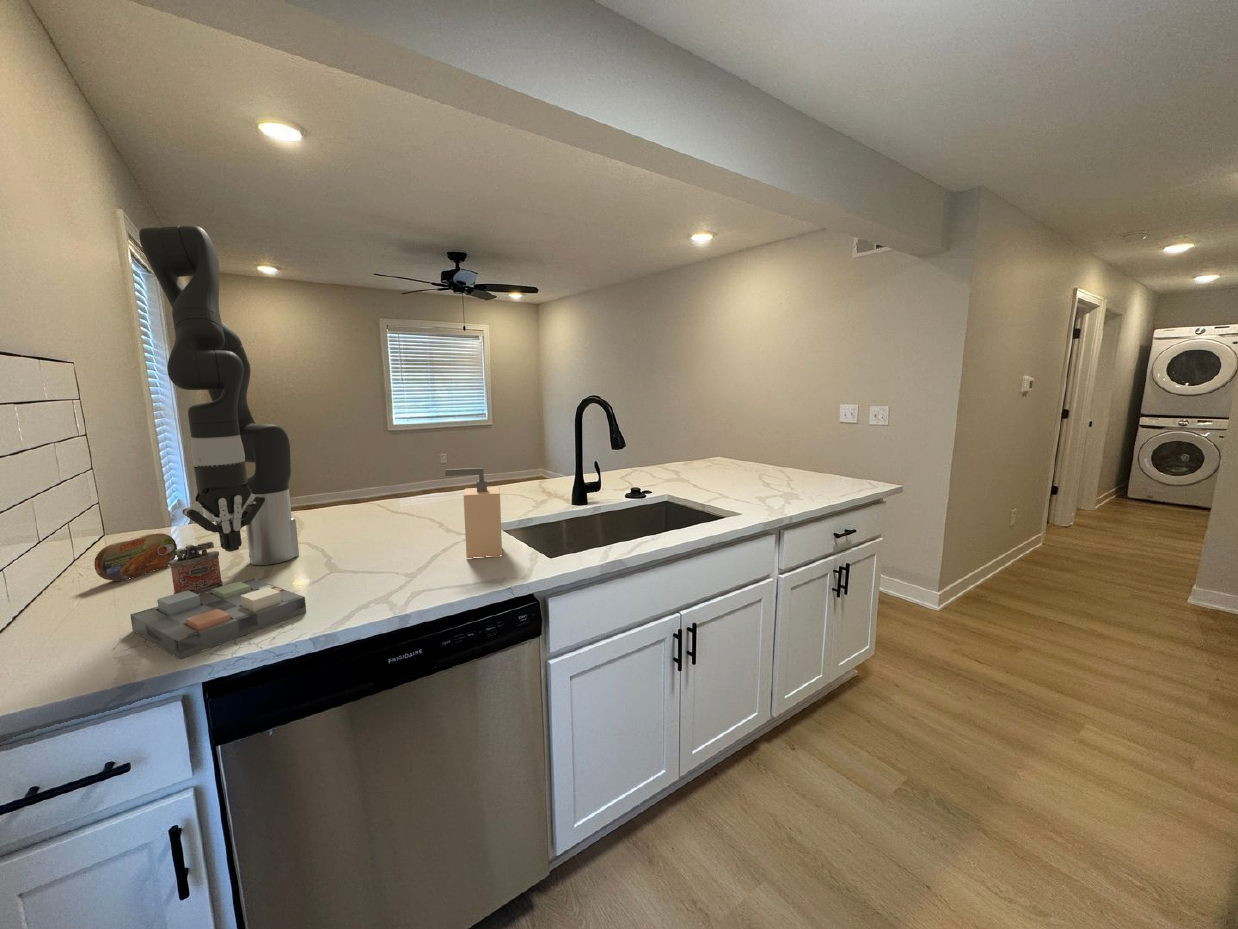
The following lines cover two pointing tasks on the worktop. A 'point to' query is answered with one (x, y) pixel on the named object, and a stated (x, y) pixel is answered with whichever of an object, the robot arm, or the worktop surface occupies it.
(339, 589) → the worktop surface
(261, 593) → the cream key
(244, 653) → the worktop surface
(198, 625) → the terracotta key
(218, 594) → the sage key
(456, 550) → the worktop surface
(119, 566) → the tin
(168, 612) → the slate key
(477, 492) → the soap dispenser
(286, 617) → the keypad
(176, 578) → the lighter
